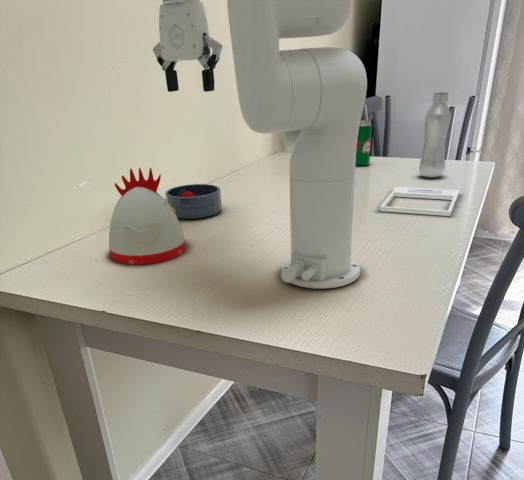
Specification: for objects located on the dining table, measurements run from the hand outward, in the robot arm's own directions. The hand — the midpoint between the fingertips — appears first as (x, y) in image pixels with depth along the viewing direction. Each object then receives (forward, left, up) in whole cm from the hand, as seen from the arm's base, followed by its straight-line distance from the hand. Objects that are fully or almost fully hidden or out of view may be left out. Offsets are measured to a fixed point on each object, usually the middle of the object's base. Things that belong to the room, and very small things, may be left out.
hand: (190, 91), depth 110 cm
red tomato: (-7, -3, -23) cm, 24 cm away
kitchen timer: (-31, -10, -24) cm, 41 cm away
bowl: (-7, -3, -24) cm, 25 cm away
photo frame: (+18, -47, -24) cm, 56 cm away
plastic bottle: (+44, -43, -24) cm, 66 cm away
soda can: (+53, -20, -24) cm, 62 cm away
